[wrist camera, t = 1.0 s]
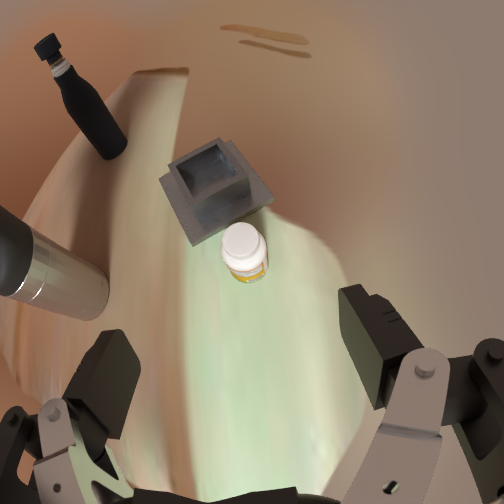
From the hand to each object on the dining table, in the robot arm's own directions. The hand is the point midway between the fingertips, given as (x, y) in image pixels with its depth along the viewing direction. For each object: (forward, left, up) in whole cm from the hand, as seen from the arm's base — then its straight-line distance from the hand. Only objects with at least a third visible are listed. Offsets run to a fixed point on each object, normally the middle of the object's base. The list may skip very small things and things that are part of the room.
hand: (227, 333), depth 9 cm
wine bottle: (-34, +34, -28) cm, 55 cm away
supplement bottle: (-3, +11, -28) cm, 30 cm away
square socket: (-10, +23, -27) cm, 37 cm away
